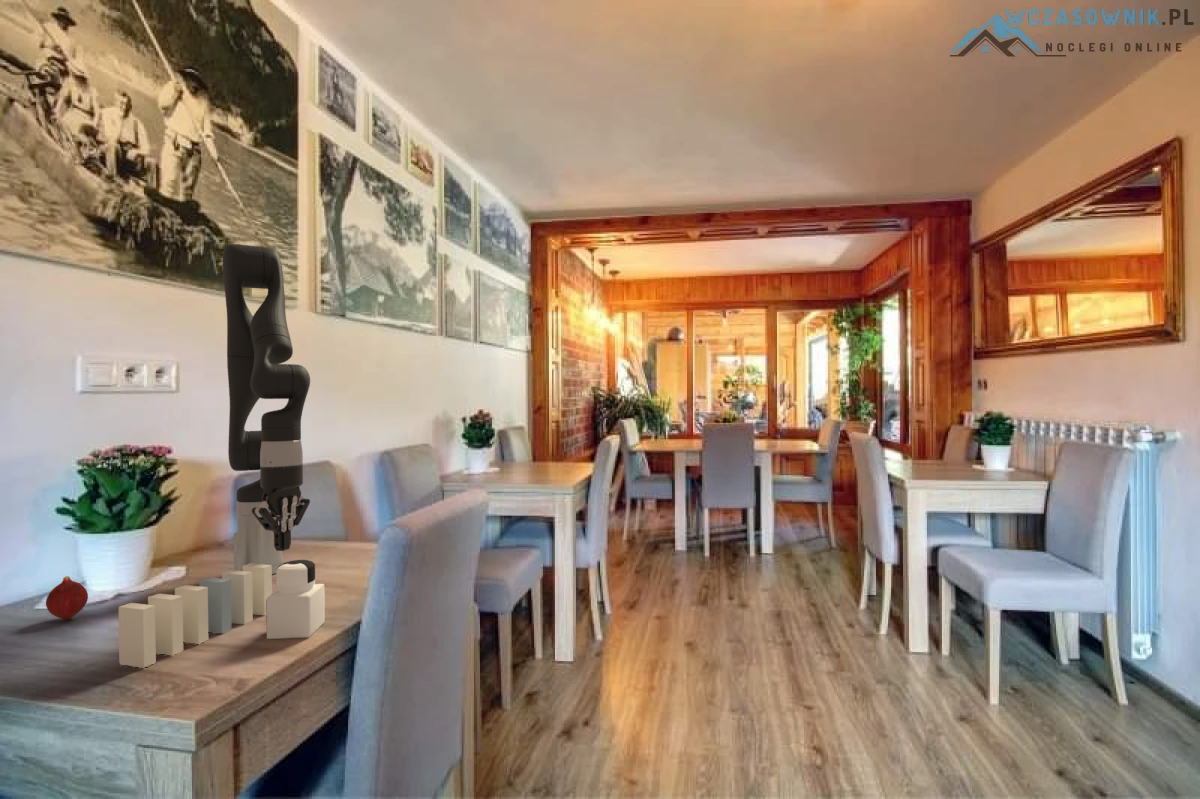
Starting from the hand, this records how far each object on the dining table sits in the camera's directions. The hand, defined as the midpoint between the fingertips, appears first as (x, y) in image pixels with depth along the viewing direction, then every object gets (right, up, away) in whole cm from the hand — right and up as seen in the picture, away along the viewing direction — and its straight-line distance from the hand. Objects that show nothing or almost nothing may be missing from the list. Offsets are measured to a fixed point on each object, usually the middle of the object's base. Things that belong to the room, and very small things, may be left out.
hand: (282, 549), depth 119 cm
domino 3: (-5, -11, -19) cm, 22 cm away
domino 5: (-3, -11, -10) cm, 15 cm away
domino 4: (-4, -11, -15) cm, 18 cm away
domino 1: (-8, -11, -28) cm, 31 cm away
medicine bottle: (+10, -11, -15) cm, 21 cm away
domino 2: (-6, -11, -23) cm, 26 cm away
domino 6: (-2, -11, -6) cm, 12 cm away
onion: (-36, -11, -8) cm, 38 cm away
